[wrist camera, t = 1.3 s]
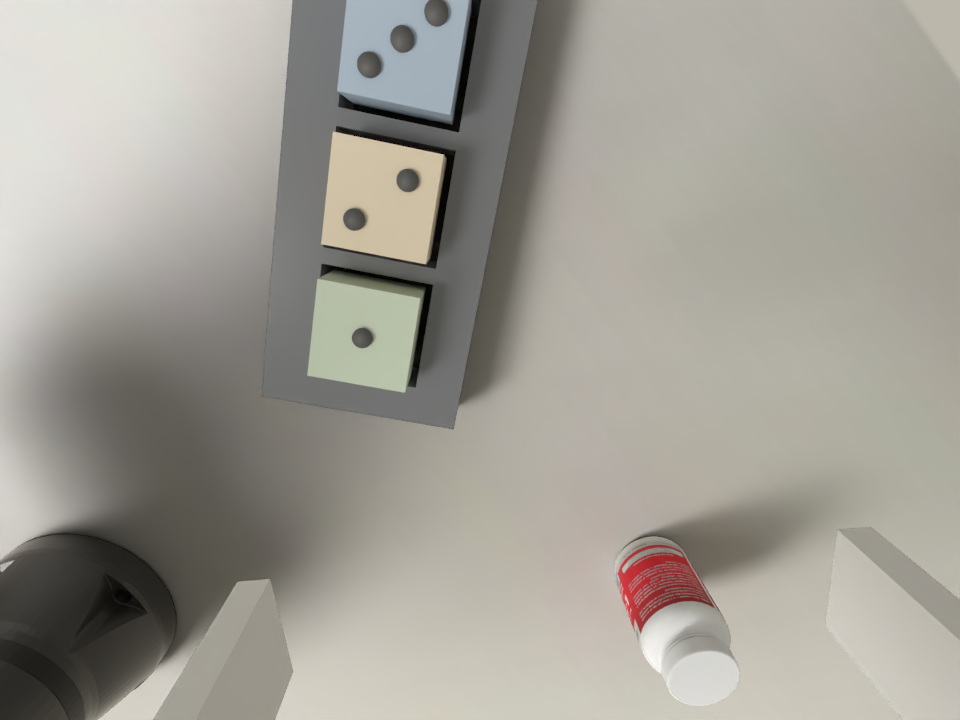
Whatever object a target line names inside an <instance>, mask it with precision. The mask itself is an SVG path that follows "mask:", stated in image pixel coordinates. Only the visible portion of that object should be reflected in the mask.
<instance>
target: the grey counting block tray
mask: <svg viewBox="0 0 960 720" xmlns="http://www.w3.org/2000/svg"><path fill="white" fill-rule="evenodd" d="M346 1H347V0H293V3H292V16H291V29H290V41H289V54H288V67H287V79H286V92H285V104H284V117H283V130H282V142H281V155H280V168H279V180H278V193H277V206H276V218H275V231H274V243H273V256H272V269H271V281H270V294H269V307H268V319H267V332H266V345H265V357H264V370H263V382H262V395H261V396H263V397H269V398H275V399H281V400H287V401H292V402H298V403H304V404H310V405H316V406H321V407H327V408H333V409H339V410H345V411H350V412H356V413H362V414H368V415H373V416H379V417H385V418H391V419H397V420H402V421H408V422H414V423H420V424H426V425H431V426H437V427H443V428H449V429H454V425H455V419H456V414H457V409H458V404H459V399H460V394H461V389H462V384H463V379H464V373H465V368H466V363H467V358H468V353H469V348H470V343H471V338H472V333H473V328H474V322H475V317H476V312H477V307H478V302H479V297H480V292H481V287H482V282H483V276H484V271H485V266H486V261H487V256H488V251H489V246H490V241H491V236H492V231H493V225H494V220H495V215H496V210H497V205H498V200H499V195H500V190H501V185H502V179H503V174H504V169H505V164H506V159H507V154H508V149H509V144H510V139H511V134H512V128H513V123H514V118H515V113H516V108H517V103H518V98H519V93H520V88H521V83H522V77H523V72H524V67H525V62H526V57H527V52H528V47H529V42H530V37H531V31H532V26H533V21H534V16H535V11H536V6H537V1H538V0H471V17H474V18H478V23H477V29H476V35H475V41H474V47H473V52H472V58H471V64H470V70H469V76H468V82H467V88H466V94H465V100H464V106H463V112H462V118H461V123H460V129H459V132H454V131H449V130H445V129H440V128H435V127H431V126H426V125H421V124H416V123H412V122H407V121H402V120H397V119H393V118H388V117H383V116H379V115H374V114H369V113H364V112H360V111H355V110H354V107H355V104H353V103H352V102H351V101H349V100H348V99H347V98H346V97H344V96H343V95H342V94H341V93H339V92H338V91H337V87H338V78H339V68H340V59H341V49H342V39H343V30H344V20H345V11H346ZM333 132H338V133H343V134H348V135H351V134H355V135H360V136H365V137H369V138H374V139H379V140H384V141H389V142H393V143H398V144H403V145H408V146H413V147H417V148H422V149H427V150H432V151H437V152H441V153H446V154H451V155H455V159H454V165H453V171H452V177H451V183H450V189H449V194H448V200H447V206H446V212H445V218H444V224H443V230H442V236H441V242H440V248H439V254H438V259H437V261H434V260H429V261H428V262H427V263H426V264H421V263H416V262H411V261H406V260H401V259H396V258H390V257H385V256H380V255H375V254H370V253H365V252H359V251H354V250H349V249H344V248H339V247H334V246H328V245H323V244H321V240H322V230H323V221H324V211H325V202H326V192H327V183H328V173H329V163H330V154H331V144H332V135H333ZM336 266H338V267H343V268H348V269H353V270H358V271H364V272H369V273H374V274H379V275H385V276H390V277H395V278H400V279H406V280H411V281H416V282H421V283H427V284H432V285H433V289H432V295H431V301H430V307H429V313H428V319H427V325H426V330H425V336H424V342H423V348H422V354H421V360H420V366H419V369H418V368H413V369H412V374H411V377H410V380H409V382H408V385H407V388H406V391H405V393H403V392H397V391H392V390H386V389H380V388H375V387H369V386H363V385H358V384H352V383H346V382H341V381H335V380H329V379H324V378H318V377H312V376H307V373H308V364H309V354H310V345H311V335H312V326H313V316H314V307H315V297H316V288H317V279H318V278H320V277H322V276H324V275H326V274H328V273H330V272H332V271H333V270H336Z"/></svg>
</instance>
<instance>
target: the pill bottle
mask: <svg viewBox="0 0 960 720" xmlns="http://www.w3.org/2000/svg"><path fill="white" fill-rule="evenodd" d="M614 575H615V579H616V583H617V586H618V588H619V591H620V594H621V596H622V599H623V602H624V604H625V607H626V610H627V613H628V615H629V618H630V620H631V623H632V626H633V628H634V631H635V633H636V636H637V639H638V641H639V644H640V647H641V649H642V652H643V654H644V656H645V658H646V659H647V661H648V662H649V664H650V665H651V666H652V667H653V668H654V669H655V670H657V671H658V672H660V673H661V674H662V675H663V678H664V680H665V682H666V684H667V686H668V689H669V691H670V693H671V694H672V695H673V697H675V698H676V699H677V700H678V701H680V702H682V703H684V704H687V705H692V706H706V705H711V704H714V703H717V702H719V701H721V700H723V699H725V698H726V697H728V696H729V695H730V694H731V693H732V692H733V691H734V690H735V688H736V687H737V685H738V682H739V679H740V670H739V666H738V664H737V662H736V660H735V659H734V656H733V654H732V652H731V650H730V649H729V648H730V642H731V638H730V631H729V628H728V625H727V623H726V621H725V619H724V617H723V615H722V614H721V612H720V611H719V609H718V607H717V606H716V604H715V603H714V601H713V599H712V598H711V596H710V594H709V593H708V591H707V589H706V587H705V586H704V584H703V582H702V581H701V579H700V577H699V576H698V574H697V572H696V571H695V569H694V567H693V566H692V564H691V562H690V560H689V559H688V557H687V555H686V554H685V553H684V551H683V550H682V549H681V548H680V546H678V545H677V544H676V543H674V542H673V541H671V540H669V539H666V538H663V537H657V536H651V537H645V538H641V539H638V540H636V541H634V542H632V543H630V544H629V545H628V546H626V547H625V548H624V549H623V550H622V551H621V552H620V554H619V555H618V557H617V559H616V562H615V566H614Z"/></svg>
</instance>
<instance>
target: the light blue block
mask: <svg viewBox="0 0 960 720" xmlns="http://www.w3.org/2000/svg"><path fill="white" fill-rule="evenodd" d="M470 19H471V0H347V1H346V11H345V20H344V30H343V39H342V49H341V59H340V68H339V78H338V87H337V91H338V92H339V93H341V94H342V95H343V96H344V97H346V98H347V99H348V100H349V101H351V102H352V103H353V104H357V105H361V106H366V107H371V108H375V109H380V110H385V111H390V112H394V113H399V114H404V115H408V116H413V117H418V118H423V119H427V120H432V121H437V122H441V123H446V124H451V125H453V121H454V115H455V109H456V103H457V97H458V91H459V85H460V79H461V73H462V67H463V61H464V55H465V49H466V43H467V37H468V31H469V25H470Z"/></svg>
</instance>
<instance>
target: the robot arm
mask: <svg viewBox="0 0 960 720" xmlns="http://www.w3.org/2000/svg"><path fill="white" fill-rule="evenodd" d="M825 627H826V628H827V629H828V630H829V631H830V633H831V634H832V635H833V636H834V637H835V639H836V640H837V641H838V642H839V644H840V645H841V646H842V647H843V648H844V650H845V651H846V652H847V653H848V654H849V656H850V657H851V658H852V659H853V660H854V662H855V663H856V664H857V665H858V667H859V668H860V669H861V670H862V671H863V673H864V674H865V675H866V676H867V677H868V679H869V680H870V681H871V682H872V683H873V685H874V686H875V687H876V688H877V690H878V691H879V692H880V693H881V694H882V696H883V697H884V698H885V699H886V700H887V702H888V703H889V704H890V705H891V706H892V708H893V709H894V710H895V711H896V712H897V714H898V715H899V716H900V717H901V719H902V720H960V599H958V598H957V597H956V596H955V595H953V594H952V593H951V592H950V591H949V590H947V589H946V588H945V587H944V586H943V585H941V584H940V583H939V582H938V581H936V580H935V579H934V578H933V577H932V576H930V575H929V574H928V573H927V572H925V571H924V570H923V569H922V568H921V567H919V566H918V565H917V564H916V563H915V562H913V561H912V560H911V559H910V558H908V557H907V556H906V555H905V554H904V553H902V552H901V551H900V550H899V549H898V548H896V547H895V546H894V545H893V544H891V543H890V542H889V541H888V540H887V539H885V538H884V537H883V536H882V535H880V534H879V533H878V532H877V531H876V530H874V529H873V528H872V527H862V528H851V529H839V530H837V537H836V545H835V553H834V561H833V569H832V577H831V585H830V593H829V601H828V609H827V617H826V625H825ZM175 630H176V614H175V609H174V605H173V602H172V599H171V597H170V595H169V593H168V591H167V589H166V587H165V586H164V584H163V583H162V581H161V580H160V579H159V577H158V576H157V575H156V574H155V573H154V572H153V571H152V570H151V569H150V568H149V567H148V566H147V565H146V564H145V563H144V562H142V561H141V560H140V559H138V558H137V557H136V556H134V555H133V554H131V553H129V552H128V551H126V550H124V549H122V548H120V547H118V546H116V545H114V544H111V543H109V542H106V541H103V540H100V539H96V538H92V537H87V536H81V535H71V534H60V535H50V536H44V537H40V538H36V539H33V540H31V541H28V542H26V543H24V544H22V545H20V546H18V547H17V548H16V549H14V550H13V551H11V552H10V553H9V554H8V555H6V556H5V557H4V558H2V559H1V560H0V720H98V719H99V718H100V717H102V716H103V715H104V714H105V713H107V712H108V711H109V710H110V709H111V708H113V707H114V706H115V705H116V704H117V703H119V702H120V701H121V700H122V699H123V698H124V697H126V696H127V695H128V694H129V693H130V692H131V691H133V690H134V689H136V688H137V687H138V686H140V685H141V684H142V683H143V682H144V681H145V680H146V679H147V678H148V677H149V676H150V675H151V674H152V673H153V671H154V670H155V669H156V667H157V666H158V664H159V663H160V661H161V660H162V658H163V657H164V655H165V654H166V652H167V651H168V649H169V648H170V646H171V644H172V641H173V638H174V635H175ZM292 673H293V668H292V664H291V660H290V656H289V652H288V648H287V644H286V640H285V636H284V632H283V628H282V624H281V620H280V616H279V612H278V608H277V604H276V600H275V596H274V592H273V588H272V584H271V580H270V579H262V580H250V581H239V582H237V583H236V585H235V587H234V588H233V590H232V591H231V593H230V595H229V596H228V598H227V600H226V601H225V603H224V605H223V606H222V608H221V609H220V611H219V613H218V614H217V616H216V618H215V619H214V621H213V623H212V624H211V626H210V627H209V629H208V631H207V632H206V634H205V636H204V637H203V639H202V641H201V642H200V644H199V645H198V647H197V649H196V650H195V652H194V654H193V655H192V657H191V658H190V660H189V662H188V663H187V665H186V667H185V668H184V670H183V672H182V673H181V675H180V676H179V678H178V680H177V681H176V683H175V685H174V686H173V688H172V690H171V691H170V693H169V694H168V696H167V698H166V699H165V701H164V703H163V704H162V706H161V708H160V709H159V711H158V712H157V714H156V716H155V717H154V719H153V720H275V718H276V715H277V713H278V710H279V708H280V705H281V702H282V700H283V697H284V694H285V692H286V689H287V686H288V684H289V681H290V678H291V676H292Z"/></svg>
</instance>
